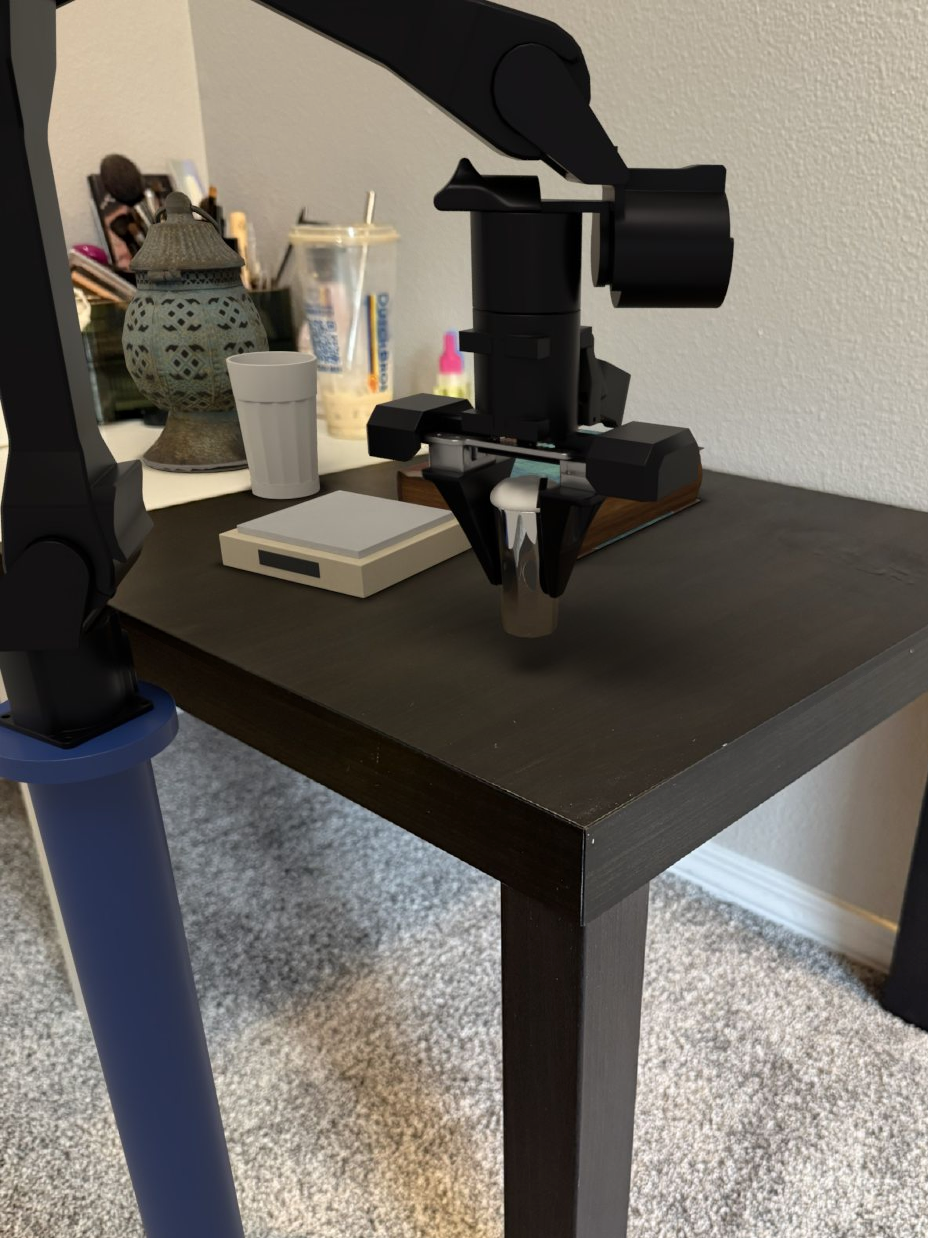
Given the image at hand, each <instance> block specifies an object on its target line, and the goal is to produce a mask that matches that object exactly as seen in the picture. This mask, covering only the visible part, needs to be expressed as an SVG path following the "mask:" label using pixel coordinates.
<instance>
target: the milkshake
mask: <svg viewBox="0 0 928 1238" xmlns="http://www.w3.org/2000/svg"><path fill="white" fill-rule="evenodd" d="M557 483H558V482H556V481H554V480H552V479H549V478H548V477H543V476H539V475H524V476H518V477H515V478H511V477H510V478H506V479H504V480H502V481H501V482H499V483H498V484H497V485H496V486H495V487H494V488H493V490H492V491H491V494H490V500H491V509H492V518H493V526H494V535H495V544H496V554H497V566H498V577H499V585H498V588H499V599H500V610H501V611H500V612H501V622H502V623H501V624H502V627H503V629H504V631H505V632H506V633H507V634H509V635H513V636H515V637H518V638H535V639H536V638H541V637H544V636H549V635H551V634H552V633H553V632H554V631H555V630H556V629H557V628H558V618H559V609H560V597H561V596H559V597H558V598H551V597H550V596H549V593H548V588H547V583H546V578H545V569H544V556H543V543H542V530H541V518H540V505H539V491H541V490H544V489H546V488H548V487H550V486H553V485H555V484H557Z"/></svg>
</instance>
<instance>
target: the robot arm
mask: <svg viewBox="0 0 928 1238" xmlns="http://www.w3.org/2000/svg"><path fill="white" fill-rule="evenodd" d="M75 1H76V0H0V406H1V411H2V415H3V420H4V425H5V429H6V434H7V443H8V448H7V456H6V457H7V459H6V464H5V471H4V478H3V487H2V491H1V492H2V493H1V499H0V541H1V560H2V569H3V572H4V575H3V576H2V577H1V579H0V675H1V679H2V683H3V687H4V690H5V694H6V698H7V700H8V702H9V706H10V710H11V711H8V712H6V713H4V714H1V715H0V726H1V727H4V728H7V729H9V730H12V731H15V732H17V733H20V734H23V735H26V736H28V737H31V738H34V739H36V740H39V741H42V742H44V743H47V744H50V745H52V746H55V747H58V748H60V749H64V750H68V749H73V748H75V747H77V746H79V745H82V744H84V743H86V742H88V741H90V740H92V739H94V738H96V737H98V736H100V735H102V734H104V733H106V732H109V731H111V730H113V729H115V728H117V727H119V726H121V725H123V724H125V723H127V722H129V721H131V720H133V719H136V718H138V717H140V716H142V715H144V714H146V713H148V712H150V711H152V710H153V709H154V704H153V701H152V700H149V699H146V698H143V697H140V696H137V695H135V693H137V692H138V690H139V686H138V681H137V679H138V678H137V671H136V666H135V661H134V660H135V659H134V656H133V655H134V654H133V651H132V646H131V641H130V636H129V635H130V634H129V632H128V631H127V630H126V629H124V628H122V627H123V626H122V623H121V618H120V613H119V610H118V609H114V608H111V607H107V606H106V605H107V604H108V602H110V600H112V599H114V597H115V596H116V595H117V591H118V587H119V586H120V584H121V583H122V581H123V580H124V579H125V578H126V576H127V575H128V574H129V572H130V571H131V570H132V568H133V567H134V565H136V563H137V561H138V560H139V558H140V556H141V554H142V551H143V548H144V540H145V539H146V537H147V536H148V535H149V534H150V532H151V530H152V529H153V528H154V526H155V523H154V521H153V520H152V518H151V516H150V515H149V512H148V511H147V507H146V504H145V501H144V494H143V490H144V489H143V488H144V487H143V486H144V485H143V483H144V471H143V462H142V461H141V460H140V459H131V460H125V461H120V462H117V459H116V458H115V456H114V455H113V454H112V452H111V449H110V448H109V446H108V445H107V443H106V441H105V439H104V438H103V436H102V433H101V431H100V428H99V424H98V421H97V416H96V409H95V404H94V399H93V392H92V386H91V381H90V374H89V369H88V363H87V358H86V352H85V346H84V341H83V335H82V329H81V323H80V319H79V318H80V317H79V313H78V307H77V306H78V305H77V301H76V295H75V289H74V284H73V278H72V277H73V276H72V272H71V266H70V261H69V253H68V248H67V243H66V238H65V231H64V226H63V220H62V214H61V209H60V203H59V198H58V192H57V185H56V180H55V175H54V169H53V168H54V167H53V163H52V157H51V151H50V146H49V123H50V115H51V110H52V109H51V108H52V102H53V94H54V88H55V81H56V75H57V63H58V62H57V10H58V9H60V8H63V7H64V6H67V5H68V4H71V3H72V2H73V3H74V2H75ZM250 1H251V2H253V3H255V4H257V5H259V6H262V7H263V8H265V9H267V10H269V11H271V12H273V13H275V14H277V15H279V16H281V17H282V18H285V19H286V20H288V21H290V22H293V23H295V24H297V25H298V26H301V27H302V28H304V29H306V30H308V31H310V32H312V33H314V34H316V35H318V36H320V37H322V38H324V39H326V40H328V41H330V42H332V43H333V44H336V45H338V46H340V47H341V48H343V49H344V50H345V49H346V50H347V51H349V52H351V53H354V54H355V55H357V56H359V57H361V58H362V59H365V60H367V61H369V62H371V63H373V64H375V65H377V66H379V67H381V68H383V69H385V70H386V71H388V72H389V73H391V75H392V76H395V77H396V78H397V79H398V80H400V81H401V82H402V83H404V84H405V85H406V86H408V87H409V88H411V89H412V90H413V91H414V92H415V93H417V94H418V95H419V96H421V97H422V98H423V99H425V100H426V101H427V102H428V103H429V104H431V105H432V106H433V107H435V108H436V109H437V110H438V111H440V112H441V113H442V114H443V115H445V116H446V117H447V118H449V119H450V120H452V121H453V122H454V123H456V124H457V125H458V126H459V127H461V128H462V129H463V130H465V131H466V132H467V133H469V134H470V135H471V136H473V137H474V138H475V139H477V140H478V141H479V142H480V143H482V144H483V145H484V146H486V147H487V148H489V149H490V151H493V152H494V153H496V154H497V155H499V156H501V157H503V158H508V159H511V160H515V161H520V162H521V161H525V162H526V161H528V162H529V161H531V162H532V161H533V162H534V161H536V162H537V161H540V162H542V163H544V164H545V165H546V166H547V167H549V168H550V169H551V170H553V171H554V172H555V173H557V175H559V176H560V177H562V178H563V179H564V180H566V181H567V182H569V183H575V184H581V185H587V186H601V189H602V190H601V192H602V193H601V199H573V198H571V199H570V198H542V193H541V184H540V179H539V176H538V175H537V174H536V175H535V174H481V173H480V172H479V171H478V170H477V169H476V168H475V166H474V165H473V163H472V161H471V159H469V158H468V157H461V158H460V159H459V160H458V162H457V165H456V167H455V170H454V172H453V174H452V175H451V177H450V178H449V180H447V182H446V184H444V185H443V187H441V188H440V189H439V190H438V191H437V192H436V193H434V195H433V199H432V203H433V206H434V208H435V209H436V210H437V211H439V212H463V213H464V212H466V213H467V212H469V222H470V223H469V225H470V226H469V227H470V228H469V229H470V230H469V231H470V266H471V307H472V328H467V329H462V330H458V351H459V352H463V353H470V354H471V353H472V354H473V378H474V379H473V382H474V383H473V385H474V388H473V389H474V392H473V393H474V406H473V405H472V403H471V401H470V400H469V398H464V397H456V396H449V395H440V394H433V393H427V392H420V393H417V394H412V395H408V396H405V397H401V398H396V399H393V400H390V401H385V402H382V403H378V404H376V405H375V406H374V407H373V410H372V412H371V413H370V415H369V418H368V420H367V422H366V423H365V429H366V442H367V444H366V445H367V454H368V456H369V457H372V458H377V459H378V458H379V459H384V460H390V461H396V462H401V463H407V462H409V461H412V460H413V459H414V457H415V456H416V455H417V454H418V453H419V452H420V450H421V449H422V444H423V445H427V447H428V461H429V467H426V468H423V469H422V470H421V473H422V478H423V479H424V480H428V481H431V482H433V483H434V484H435V486H436V488H437V489H438V491H439V492H440V494H441V496H442V497H443V499H444V500H445V502H446V503H447V505H448V507H449V508H450V510H451V511H452V513H453V514H454V516H455V518H456V519H457V521H458V523H459V524H460V526H461V528H462V530H463V532H464V534H465V535H466V537H467V539H468V541H469V543H470V545H471V547H472V548H471V549H472V550H473V553H474V555H475V557H476V558H477V560H478V562H479V564H480V566H481V569H482V570H483V572H484V573H485V576H486V578H487V579H488V582H489V583H490V585H492V586H496V587H497V586H499V577H498V566H497V554H496V544H495V535H494V526H493V518H492V509H491V500H490V494H491V491H492V490H493V488H494V487H495V486H496V485H497V484H498V483H499V482H501V481H502V480H504V479H506V478H510V475H511V472H512V469H513V466H514V463H515V460H516V458H517V459H523V460H529V461H536V462H542V463H549V464H555V465H560V483H557V484H555V485H553V486H550V487H548V488H546V489H544V490H541V491H539V505H540V518H541V530H542V543H543V556H544V569H545V578H546V583H547V588H548V593H549V596H550V597H551V598H558V597H559V596H560V597H561V596H562V595H563V594H564V593H565V591H566V588H567V586H568V583H569V581H570V578H571V576H572V574H573V573H572V572H573V570H574V568H575V565H576V563H577V560H578V559H577V557H578V555H579V552H580V549H581V547H582V544H583V542H584V539H585V537H586V534H587V532H588V529H589V527H590V525H591V523H592V521H593V519H594V518H595V516H596V514H597V512H598V510H599V508H600V507H601V505H602V504H603V502H604V501H605V500H606V499H607V498H608V497H615V498H621V499H627V500H633V501H639V502H653V501H659V500H660V499H662V498H664V497H666V496H668V495H670V494H672V493H674V492H675V491H677V490H679V489H681V488H683V487H685V486H687V485H689V484H690V483H692V482H694V481H696V480H698V468H699V454H700V455H701V453H700V452H701V450H700V449H699V447H700V446H699V445H698V441H697V440H696V438H695V436H694V434H693V433H692V431H691V429H690V427H684V426H683V427H681V426H675V425H667V424H659V423H652V422H645V421H637V420H632V421H629V422H627V423H624V424H623V421H624V415H625V410H626V404H627V399H628V394H629V389H630V383H631V378H632V375H631V373H629V372H627V371H625V370H624V369H622V368H620V367H618V366H616V365H615V364H613V363H611V362H609V361H607V360H603V359H601V358H598V357H597V356H596V353H595V336H594V333H593V326H591V325H581V324H582V323H581V322H582V319H581V318H582V309H581V308H582V270H583V269H582V265H583V220H584V219H583V217H584V215H583V214H591V230H590V231H591V232H590V275H591V282H592V286H593V288H606V286H608V287H609V295H610V301H611V305H612V307H613V308H614V309H720V308H721V307H722V306H723V304H724V302H725V299H726V296H727V294H728V291H729V290H728V289H729V286H730V281H731V277H732V276H731V275H732V270H733V262H734V252H735V251H734V250H735V238H734V237H733V236H731V213H730V206H729V204H730V203H729V200H728V196H727V193H726V185H727V169H728V168H726V166H725V164H707V163H705V164H702V163H701V164H699V163H697V164H690V165H686V166H683V167H682V166H681V167H675V168H674V167H673V168H671V167H670V168H668V167H628V166H627V164H626V162H625V161H624V159H623V157H622V156H621V154H620V152H619V146H618V145H614V143H613V141H612V140H611V138H610V136H609V134H608V133H607V132H606V130H605V128H604V127H603V125H602V123H601V122H600V120H599V119H598V117H597V115H596V113H595V112H594V110H593V109H592V107H591V106H590V105H591V100H592V91H591V87H592V86H591V73H590V71H589V67H588V64H587V61H586V58H585V55H584V53H583V49H582V47H581V46H580V44H579V43H578V42H577V41H576V39H575V38H574V36H573V35H572V34H570V33H569V32H568V31H566V30H565V29H564V28H563V27H561V26H560V25H559V24H558V23H557V22H555V21H552V20H551V19H548V18H546V17H542V16H539V15H536V14H533V13H529V12H526V11H523V10H519V9H516V8H513V7H510V6H507V5H503V4H500V3H497V2H494V1H492V0H491V1H490V0H250ZM598 424H602V426H603V427H604V428H608V430H606V431H602V432H603V433H601V434H598V435H597V434H590V433H583V432H578V429H580V427H583V426H584V427H593V426H595V425H598ZM503 438H511V439H516V442H513V441H507V440H501V439H503ZM538 442H540V444H544V443H547V445H549V444H553V445H554V446H555V447H553V448H551V447H548V446H547V447H544V446H538ZM698 446H699V447H698Z"/></svg>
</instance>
